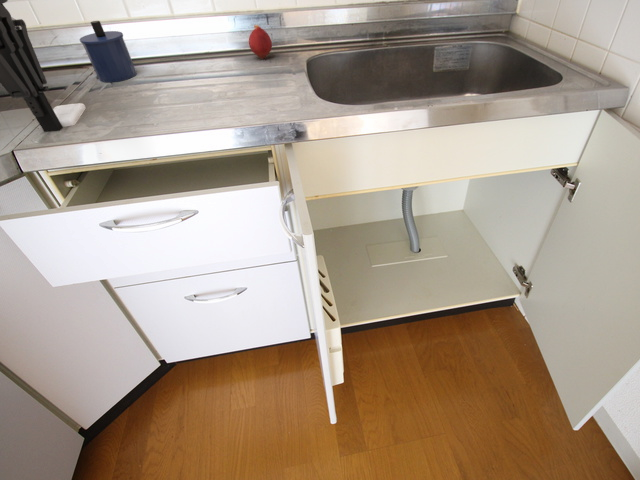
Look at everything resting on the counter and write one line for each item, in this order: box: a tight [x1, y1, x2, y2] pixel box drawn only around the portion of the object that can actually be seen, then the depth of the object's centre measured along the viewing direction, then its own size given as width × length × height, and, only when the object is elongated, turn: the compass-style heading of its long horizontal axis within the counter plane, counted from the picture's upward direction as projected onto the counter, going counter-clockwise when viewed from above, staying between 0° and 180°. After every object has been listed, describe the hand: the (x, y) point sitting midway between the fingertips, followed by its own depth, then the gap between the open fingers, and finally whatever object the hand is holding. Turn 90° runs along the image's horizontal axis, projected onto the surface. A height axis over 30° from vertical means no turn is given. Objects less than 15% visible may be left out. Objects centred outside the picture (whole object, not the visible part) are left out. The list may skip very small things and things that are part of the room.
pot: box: [81, 36, 137, 83], centre depth 96 cm, size 9×9×8 cm
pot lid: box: [79, 20, 124, 45], centre depth 92 cm, size 9×9×4 cm
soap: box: [52, 102, 87, 128], centre depth 76 cm, size 9×6×3 cm, turn 13°
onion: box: [248, 24, 273, 60], centre depth 102 cm, size 6×6×8 cm
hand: (54, 130), depth 72 cm, fingers closed
